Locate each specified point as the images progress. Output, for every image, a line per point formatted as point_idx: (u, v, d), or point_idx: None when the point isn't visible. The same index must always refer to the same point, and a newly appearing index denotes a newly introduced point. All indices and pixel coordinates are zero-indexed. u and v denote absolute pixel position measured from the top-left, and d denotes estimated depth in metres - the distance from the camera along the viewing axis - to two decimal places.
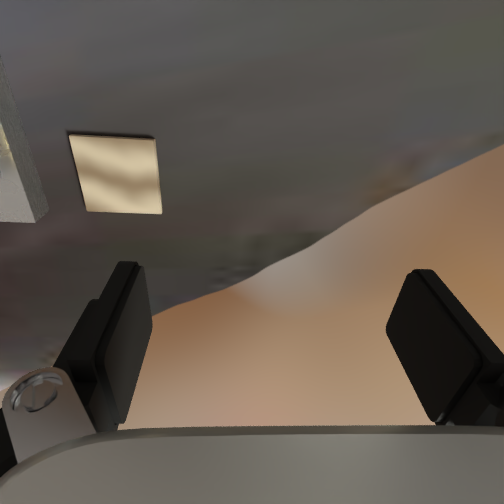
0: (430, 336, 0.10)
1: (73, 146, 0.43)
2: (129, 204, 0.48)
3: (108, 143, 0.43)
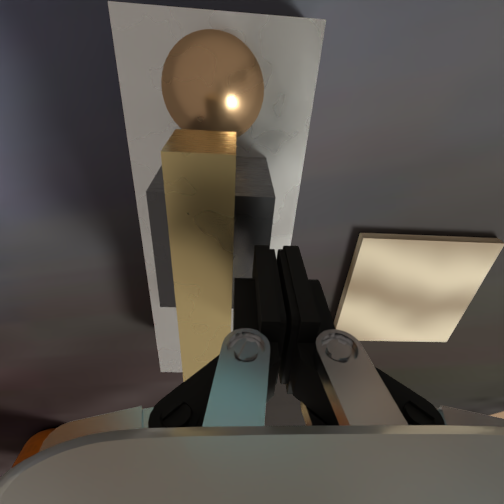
0: None
1: (363, 253, 0.24)
2: (404, 331, 0.29)
3: (424, 248, 0.24)
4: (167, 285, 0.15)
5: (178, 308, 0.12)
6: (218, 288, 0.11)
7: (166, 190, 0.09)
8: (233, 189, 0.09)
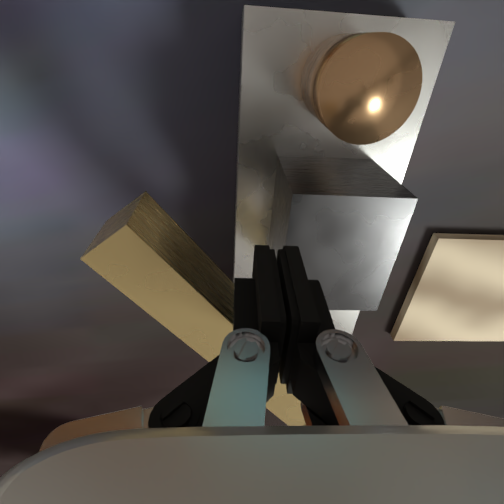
0: None
1: (436, 253, 0.24)
2: (465, 330, 0.29)
3: (497, 248, 0.24)
4: None
5: (201, 353, 0.13)
6: (214, 323, 0.12)
7: (109, 280, 0.10)
8: (149, 248, 0.10)
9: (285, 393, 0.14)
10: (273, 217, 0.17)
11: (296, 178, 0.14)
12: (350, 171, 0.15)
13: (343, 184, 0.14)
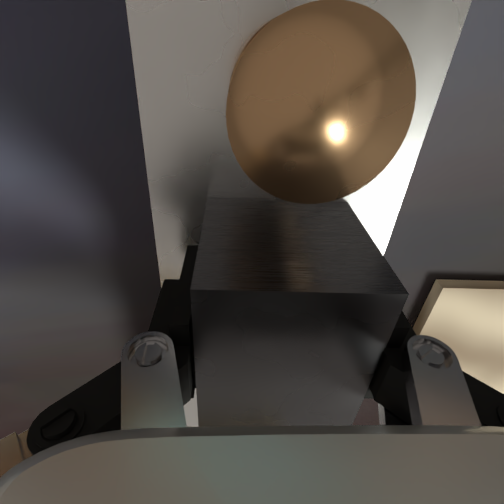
0: None
1: (439, 305, 0.19)
2: None
3: None
4: (212, 408, 0.10)
5: None
6: None
7: None
8: None
9: None
10: None
11: (214, 248, 0.09)
12: (308, 230, 0.10)
13: (288, 260, 0.08)
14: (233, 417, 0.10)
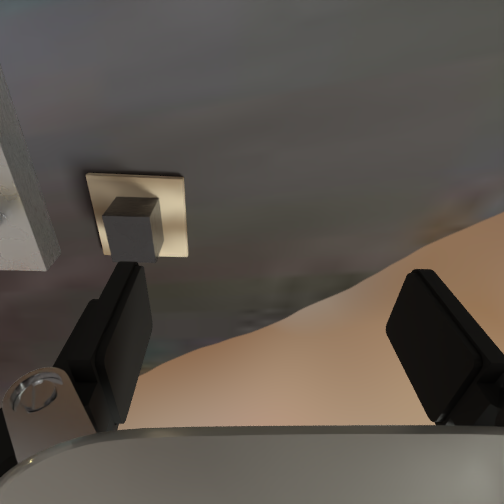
0: (430, 336, 0.10)
1: (91, 186, 0.38)
2: None
3: (130, 183, 0.38)
4: (114, 252, 0.37)
5: None
6: None
7: None
8: None
9: None
10: None
11: (111, 208, 0.36)
12: (139, 205, 0.37)
13: (127, 211, 0.35)
14: (121, 256, 0.37)
